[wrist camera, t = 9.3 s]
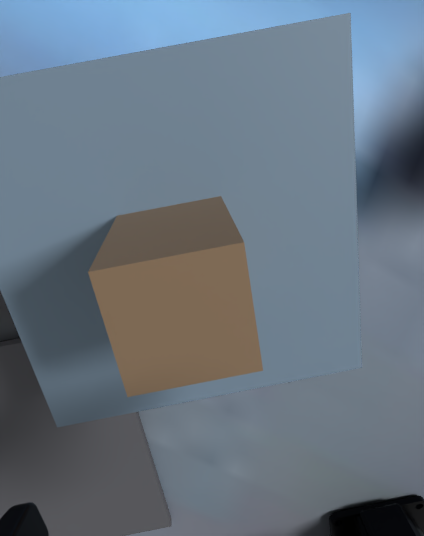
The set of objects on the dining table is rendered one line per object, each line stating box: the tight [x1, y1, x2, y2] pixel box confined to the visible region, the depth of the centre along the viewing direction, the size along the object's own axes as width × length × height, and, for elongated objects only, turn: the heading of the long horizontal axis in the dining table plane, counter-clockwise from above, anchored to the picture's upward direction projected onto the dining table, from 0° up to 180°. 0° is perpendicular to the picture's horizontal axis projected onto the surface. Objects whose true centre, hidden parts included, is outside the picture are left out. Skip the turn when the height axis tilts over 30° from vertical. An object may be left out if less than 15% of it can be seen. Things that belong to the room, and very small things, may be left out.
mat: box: [0, 338, 171, 536], centre depth 23 cm, size 15×15×1 cm
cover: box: [0, 13, 362, 427], centre depth 13 cm, size 13×13×6 cm
